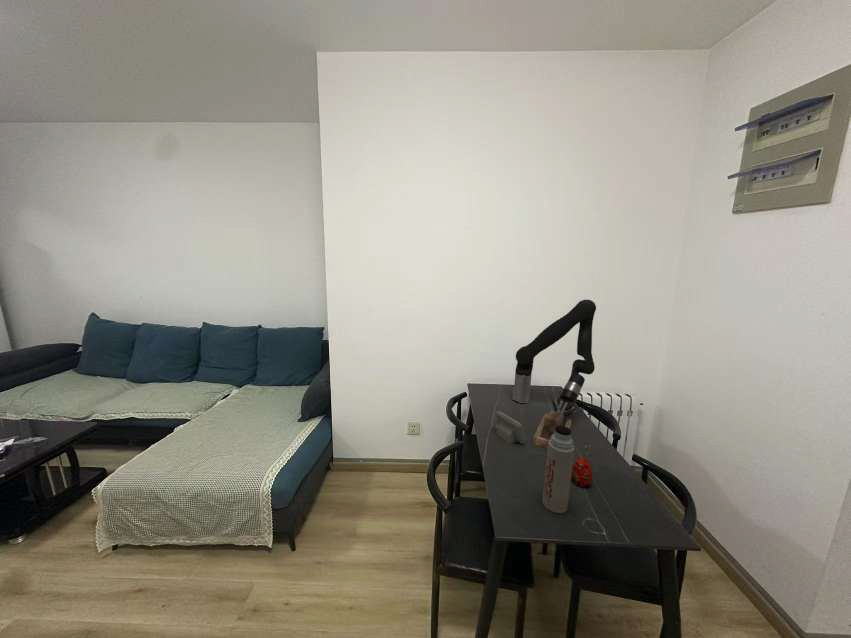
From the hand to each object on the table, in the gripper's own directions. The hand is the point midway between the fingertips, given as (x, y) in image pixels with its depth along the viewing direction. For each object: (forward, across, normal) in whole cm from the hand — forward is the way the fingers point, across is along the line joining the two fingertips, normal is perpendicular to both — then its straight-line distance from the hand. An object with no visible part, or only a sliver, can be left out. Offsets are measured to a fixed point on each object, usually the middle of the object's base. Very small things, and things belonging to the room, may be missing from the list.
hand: (556, 421), depth 160 cm
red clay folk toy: (+25, +26, -19) cm, 41 cm away
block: (+7, +1, -1) cm, 7 cm away
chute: (+8, +2, -3) cm, 9 cm away
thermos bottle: (+38, +26, -33) cm, 56 cm away
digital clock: (+21, -9, -16) cm, 28 cm away
